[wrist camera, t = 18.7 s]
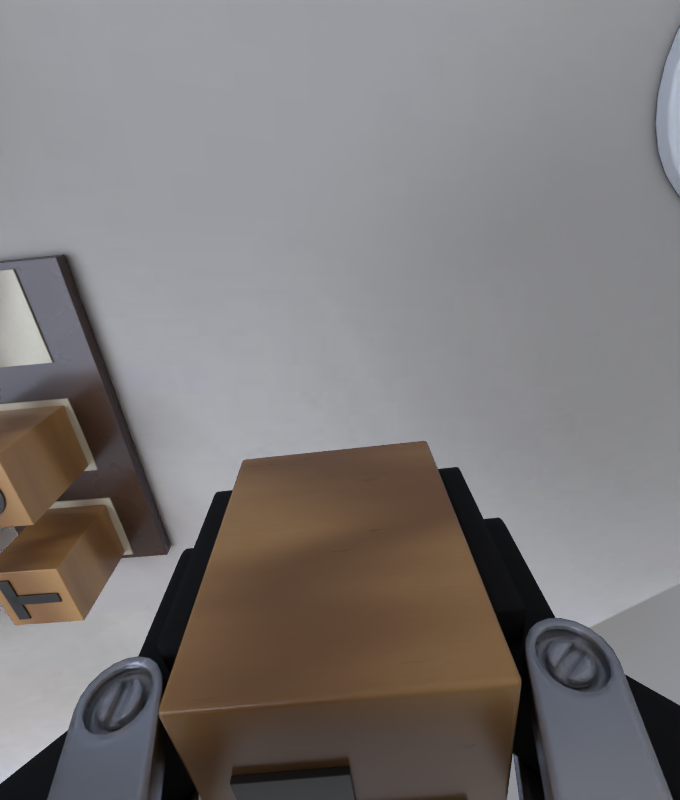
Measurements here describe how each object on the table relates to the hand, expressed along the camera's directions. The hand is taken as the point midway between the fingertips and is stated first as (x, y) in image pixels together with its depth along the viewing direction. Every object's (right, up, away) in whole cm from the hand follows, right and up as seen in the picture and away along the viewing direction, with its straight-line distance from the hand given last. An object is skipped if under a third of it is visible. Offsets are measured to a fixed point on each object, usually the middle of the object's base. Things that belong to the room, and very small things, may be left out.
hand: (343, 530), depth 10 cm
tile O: (-19, +1, +16) cm, 25 cm away
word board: (-19, +1, +17) cm, 25 cm away
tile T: (-18, -6, +19) cm, 27 cm away
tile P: (0, 0, 0) cm, 0 cm away
